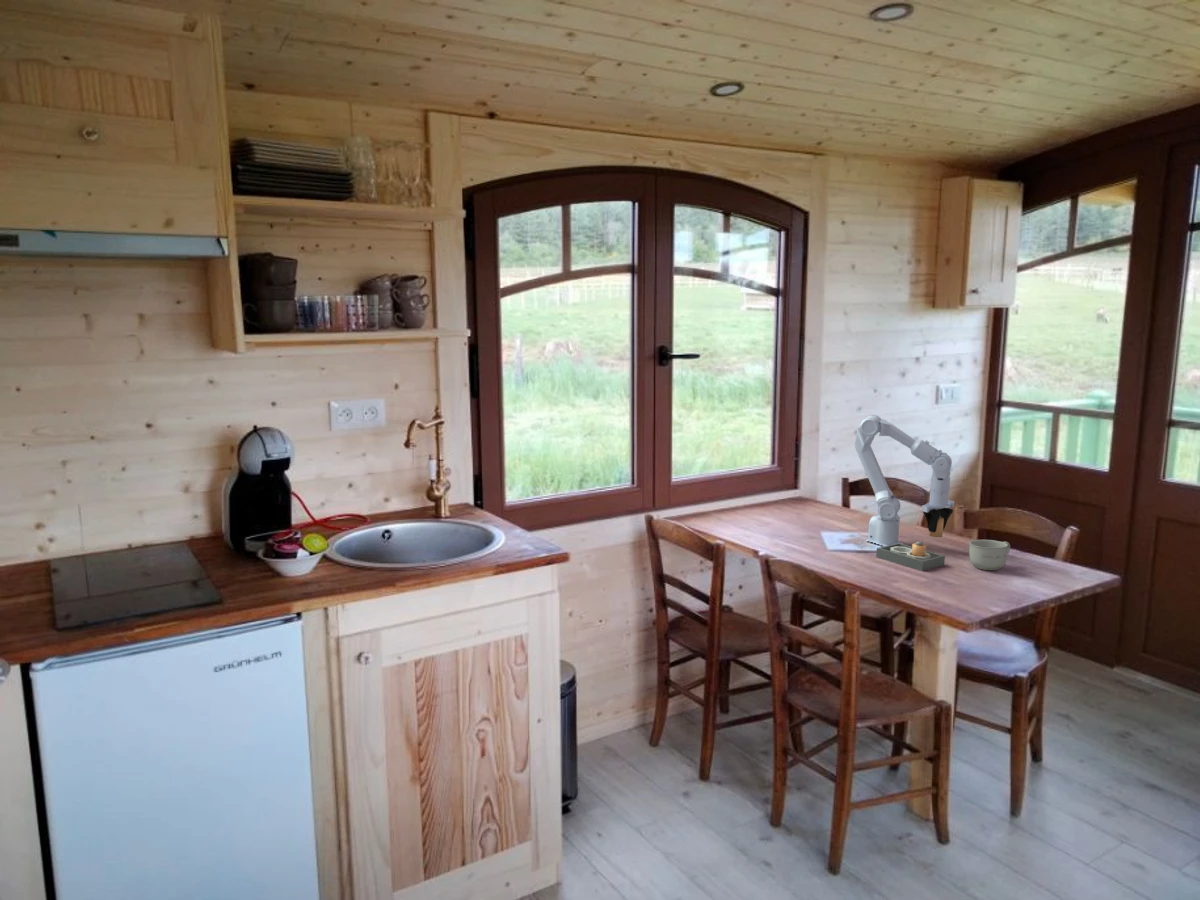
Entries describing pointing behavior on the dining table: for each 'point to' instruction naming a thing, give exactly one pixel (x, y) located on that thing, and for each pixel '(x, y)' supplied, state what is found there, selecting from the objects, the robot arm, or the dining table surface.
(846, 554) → the dining table surface
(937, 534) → the orange battery
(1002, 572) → the dining table surface
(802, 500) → the dining table surface
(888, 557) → the housing
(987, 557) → the teacup
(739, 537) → the dining table surface
